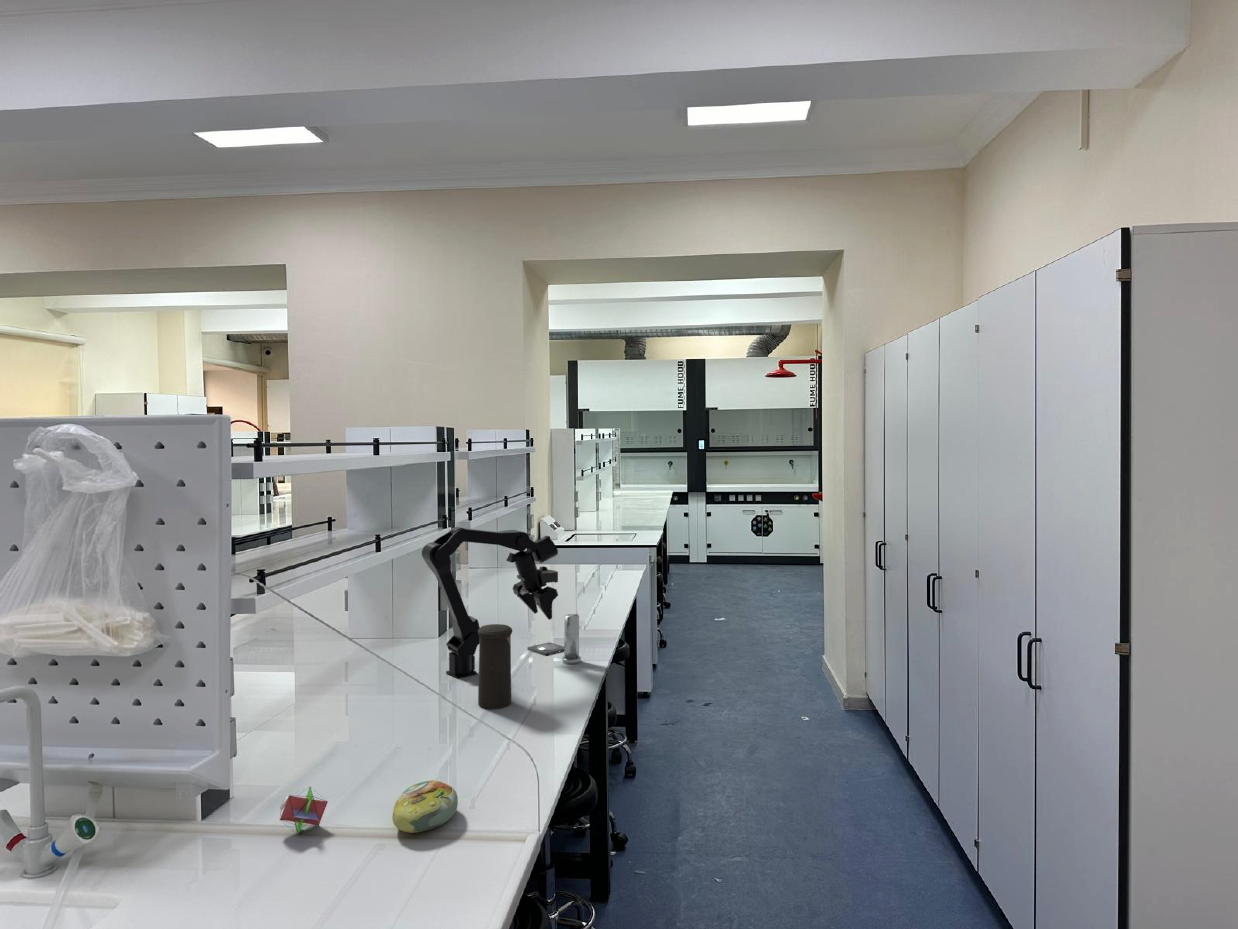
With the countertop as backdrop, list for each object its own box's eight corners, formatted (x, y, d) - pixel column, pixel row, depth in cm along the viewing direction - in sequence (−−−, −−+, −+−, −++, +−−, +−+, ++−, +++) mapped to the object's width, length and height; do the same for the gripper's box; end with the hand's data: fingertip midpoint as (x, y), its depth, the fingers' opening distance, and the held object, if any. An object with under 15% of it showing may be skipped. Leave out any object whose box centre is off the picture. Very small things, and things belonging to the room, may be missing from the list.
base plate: (544, 655, 241) (544, 652, 241) (527, 649, 247) (527, 646, 247) (567, 650, 247) (567, 647, 247) (549, 644, 253) (549, 641, 253)
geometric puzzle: (333, 801, 140) (304, 772, 137) (339, 818, 134) (309, 787, 131) (299, 832, 137) (269, 803, 135) (303, 851, 131) (272, 820, 129)
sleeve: (570, 665, 231) (570, 618, 230) (558, 661, 235) (558, 615, 234) (584, 662, 234) (584, 615, 234) (572, 658, 238) (572, 612, 238)
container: (519, 701, 199) (519, 624, 198) (496, 712, 191) (496, 632, 191) (493, 695, 204) (493, 620, 203) (469, 705, 196) (469, 627, 195)
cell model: (377, 827, 130) (402, 760, 144) (392, 859, 133) (416, 791, 147) (438, 818, 129) (457, 751, 143) (452, 851, 132) (470, 782, 146)
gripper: (564, 562, 229) (580, 609, 232) (535, 554, 244) (550, 598, 248) (533, 579, 223) (549, 627, 227) (505, 569, 239) (520, 614, 242)
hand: (543, 616), depth 236 cm, fingers open, 9 cm apart
